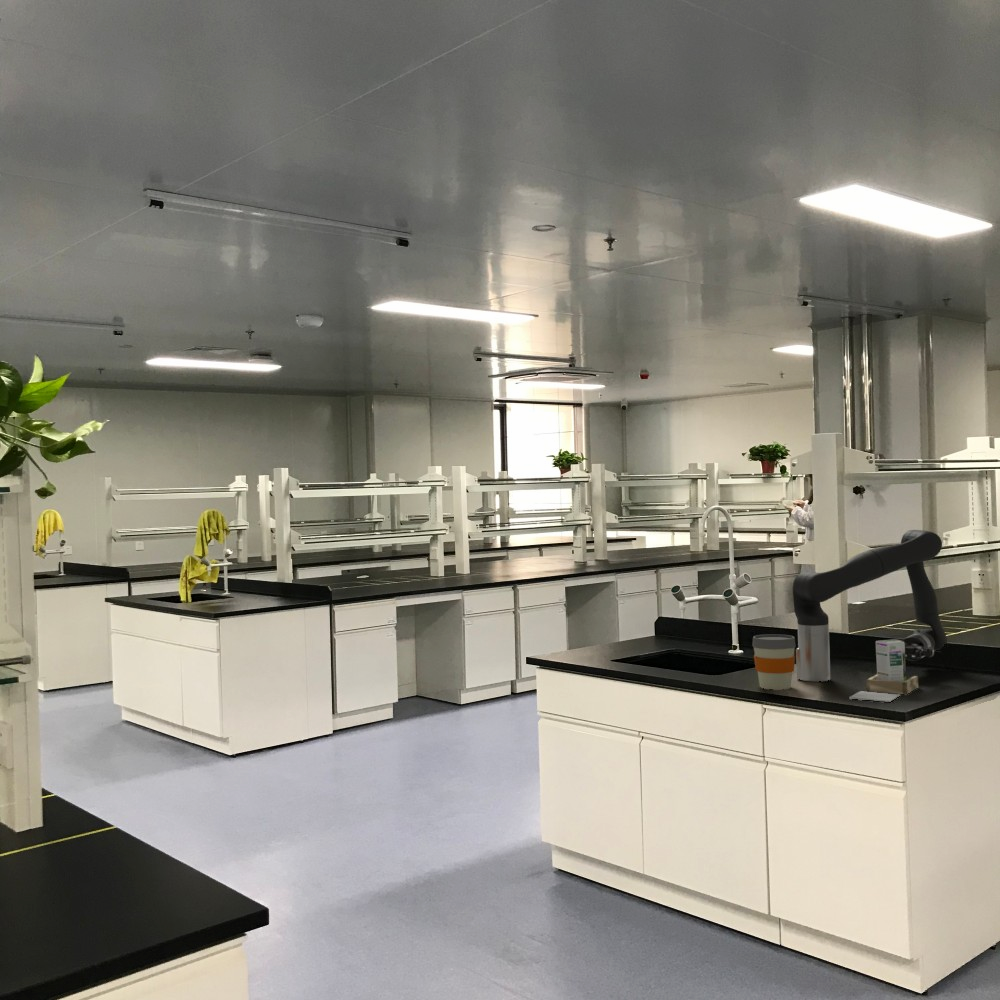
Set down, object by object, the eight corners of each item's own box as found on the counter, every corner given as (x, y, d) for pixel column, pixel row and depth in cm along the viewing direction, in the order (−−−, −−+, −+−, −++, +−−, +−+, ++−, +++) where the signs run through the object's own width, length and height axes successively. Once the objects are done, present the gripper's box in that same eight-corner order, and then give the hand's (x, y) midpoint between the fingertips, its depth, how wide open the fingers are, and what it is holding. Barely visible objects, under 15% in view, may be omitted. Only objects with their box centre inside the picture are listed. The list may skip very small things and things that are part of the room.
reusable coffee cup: (761, 691, 291) (760, 640, 291) (748, 684, 304) (746, 635, 304) (803, 689, 292) (802, 638, 292) (788, 682, 305) (786, 633, 305)
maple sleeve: (879, 684, 296) (879, 673, 296) (918, 688, 290) (917, 676, 290) (866, 692, 286) (866, 679, 286) (906, 695, 280) (906, 683, 280)
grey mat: (849, 699, 277) (849, 697, 277) (860, 693, 285) (860, 691, 285) (890, 703, 270) (889, 700, 270) (900, 696, 278) (900, 694, 278)
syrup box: (889, 693, 284) (888, 642, 284) (876, 689, 290) (875, 639, 290) (907, 691, 285) (905, 640, 285) (893, 688, 291) (892, 638, 291)
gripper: (891, 633, 313) (876, 640, 300) (939, 636, 305) (926, 642, 292) (892, 657, 313) (877, 664, 300) (940, 660, 305) (926, 668, 292)
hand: (901, 654), depth 296 cm, fingers open, 8 cm apart
